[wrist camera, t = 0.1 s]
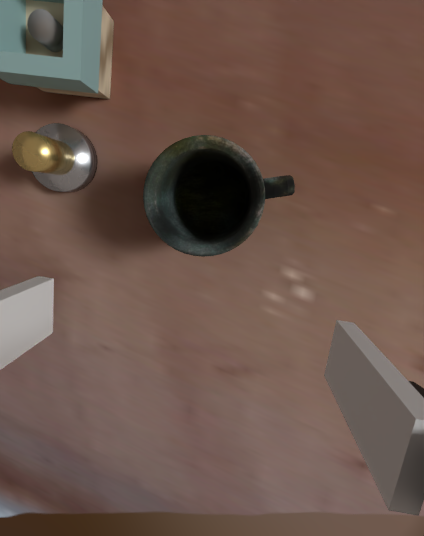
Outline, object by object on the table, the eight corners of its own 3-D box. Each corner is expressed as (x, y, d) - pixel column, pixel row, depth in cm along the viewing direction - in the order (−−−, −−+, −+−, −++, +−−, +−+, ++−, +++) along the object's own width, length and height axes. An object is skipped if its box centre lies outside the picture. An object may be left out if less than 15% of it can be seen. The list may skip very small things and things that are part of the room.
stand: (45, 14, 38) (-1, -29, 31) (113, 21, 38) (83, -21, 30) (44, 91, 40) (1, 67, 33) (109, 99, 39) (80, 76, 32)
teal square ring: (9, -22, 33) (-22, -52, 29) (103, -14, 33) (84, -43, 29) (10, 83, 35) (-19, 69, 31) (98, 93, 35) (80, 80, 31)
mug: (163, 162, 40) (131, 146, 29) (279, 141, 39) (296, 116, 27) (177, 246, 43) (154, 264, 31) (289, 230, 41) (308, 243, 29)
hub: (37, 123, 41) (-7, 106, 33) (98, 130, 40) (67, 115, 33) (37, 187, 43) (-5, 185, 35) (95, 195, 42) (65, 194, 35)
